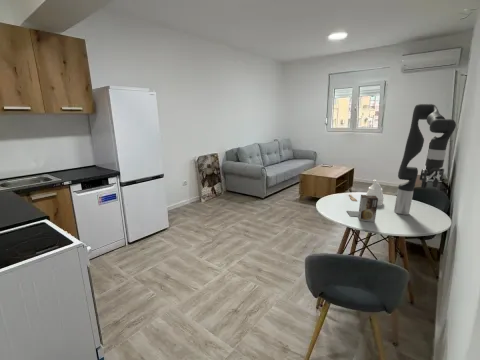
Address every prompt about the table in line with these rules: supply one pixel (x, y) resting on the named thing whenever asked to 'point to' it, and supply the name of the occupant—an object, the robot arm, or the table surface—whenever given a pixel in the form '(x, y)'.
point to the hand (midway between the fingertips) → (429, 187)
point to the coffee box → (368, 208)
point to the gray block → (353, 213)
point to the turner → (352, 198)
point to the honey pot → (376, 192)
